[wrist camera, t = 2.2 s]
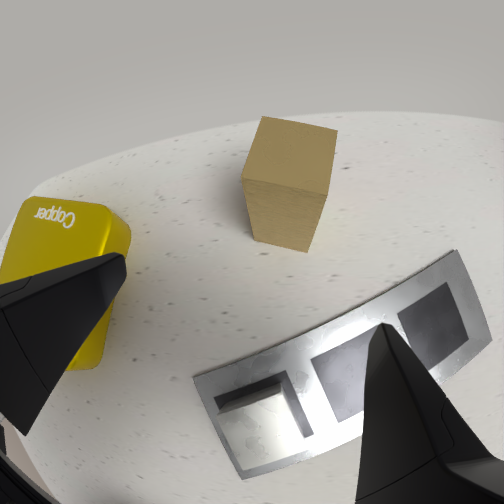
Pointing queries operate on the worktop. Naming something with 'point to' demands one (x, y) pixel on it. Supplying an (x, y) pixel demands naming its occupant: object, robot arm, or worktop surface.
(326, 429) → the grey slotted plate
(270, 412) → the zinc block
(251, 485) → the worktop surface
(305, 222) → the tan wooden block
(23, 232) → the element tile
